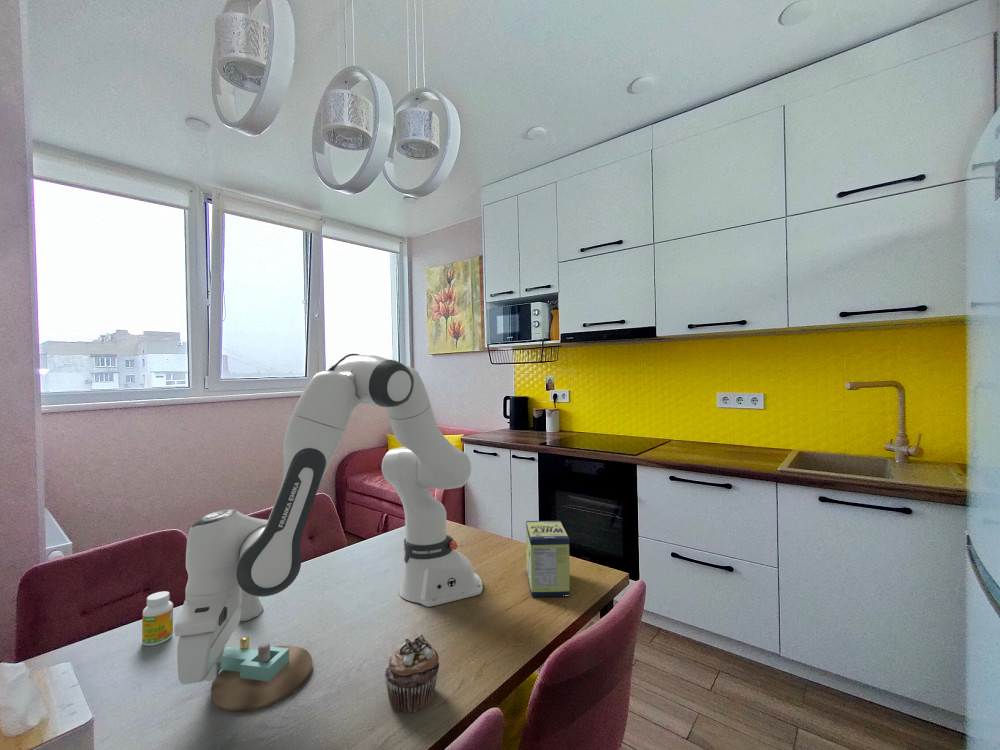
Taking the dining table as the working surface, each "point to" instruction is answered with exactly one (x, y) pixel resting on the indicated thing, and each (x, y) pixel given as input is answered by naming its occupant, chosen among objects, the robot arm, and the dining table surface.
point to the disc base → (261, 682)
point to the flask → (250, 606)
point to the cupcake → (412, 675)
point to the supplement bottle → (157, 619)
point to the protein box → (547, 558)
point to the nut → (254, 662)
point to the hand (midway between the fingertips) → (213, 675)
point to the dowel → (244, 642)
